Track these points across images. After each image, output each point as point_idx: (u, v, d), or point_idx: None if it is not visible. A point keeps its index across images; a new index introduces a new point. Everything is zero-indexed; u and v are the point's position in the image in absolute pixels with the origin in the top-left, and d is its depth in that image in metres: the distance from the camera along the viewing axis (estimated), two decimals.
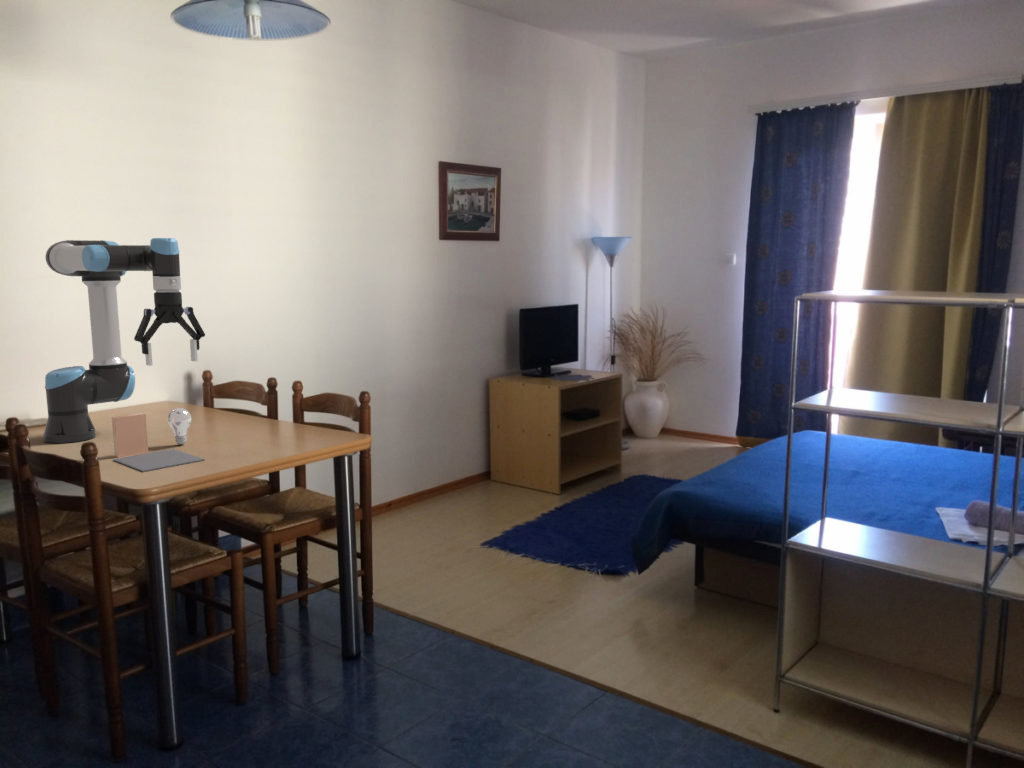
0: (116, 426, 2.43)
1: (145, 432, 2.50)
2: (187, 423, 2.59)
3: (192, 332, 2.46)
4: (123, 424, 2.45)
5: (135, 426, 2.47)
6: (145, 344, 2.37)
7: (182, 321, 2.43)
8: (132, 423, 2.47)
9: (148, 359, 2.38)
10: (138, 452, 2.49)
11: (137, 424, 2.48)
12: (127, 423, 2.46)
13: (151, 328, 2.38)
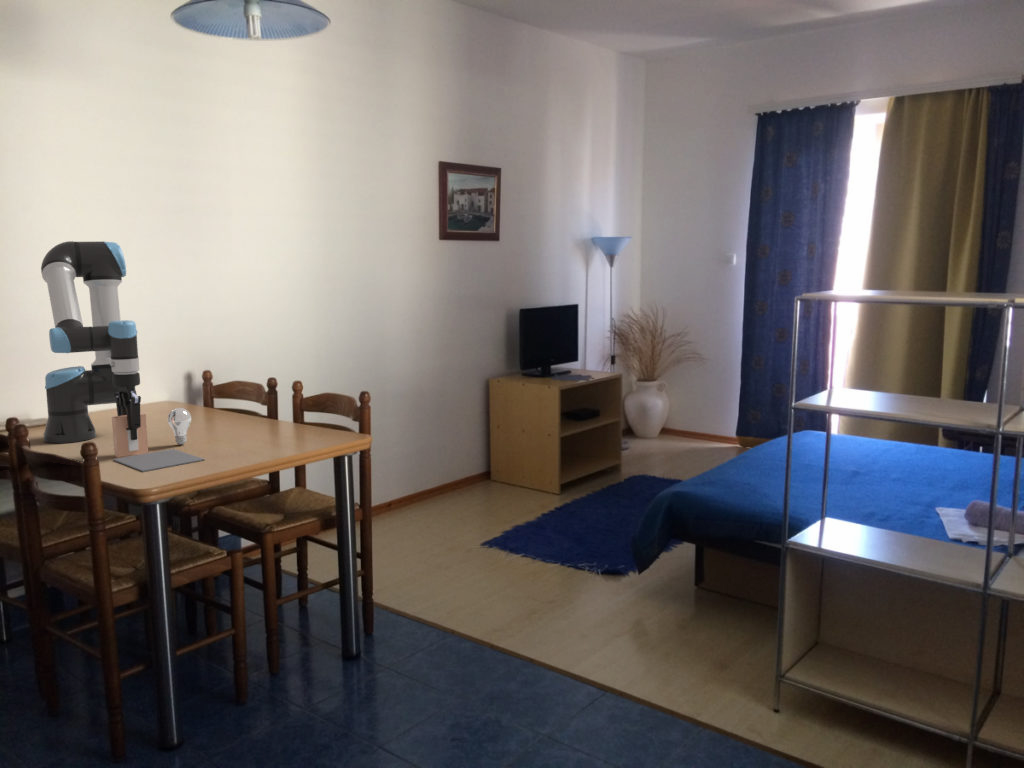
0: (116, 426, 2.43)
1: (145, 432, 2.50)
2: (187, 423, 2.59)
3: (128, 420, 2.45)
4: (123, 424, 2.45)
5: None
6: None
7: (124, 405, 2.44)
8: None
9: None
10: (138, 452, 2.49)
11: None
12: (127, 423, 2.46)
13: None
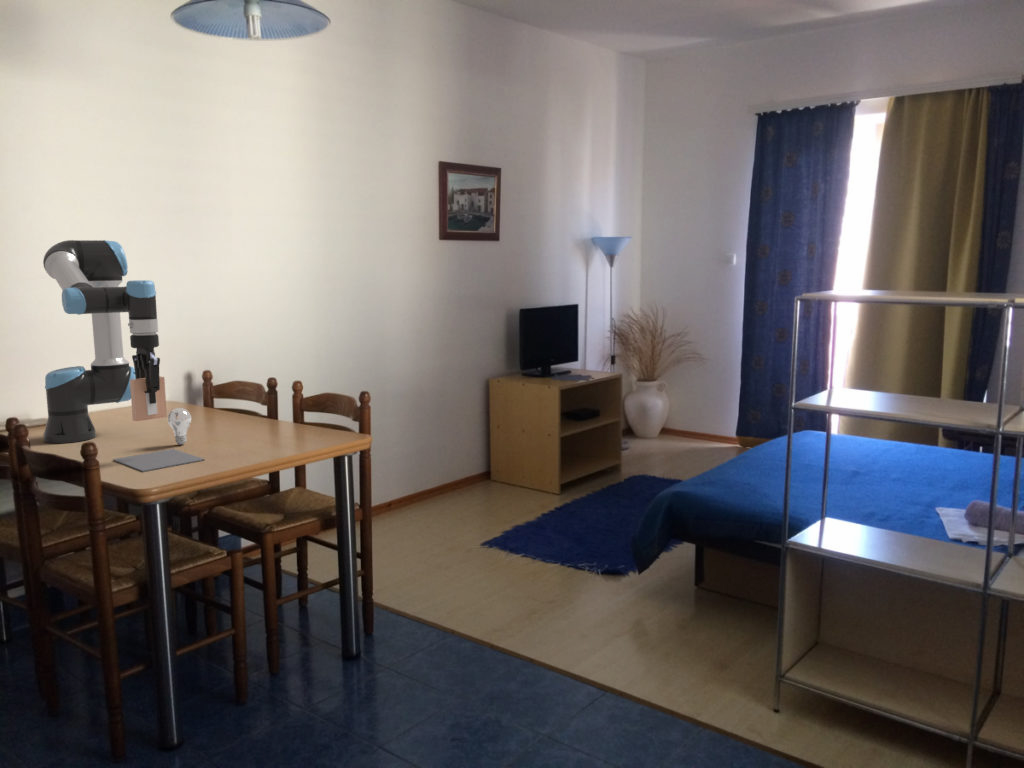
0: (134, 388, 2.36)
1: (164, 396, 2.43)
2: (187, 423, 2.59)
3: (146, 383, 2.38)
4: (141, 387, 2.38)
5: None
6: None
7: (142, 367, 2.37)
8: None
9: None
10: (157, 416, 2.42)
11: None
12: (145, 386, 2.39)
13: None
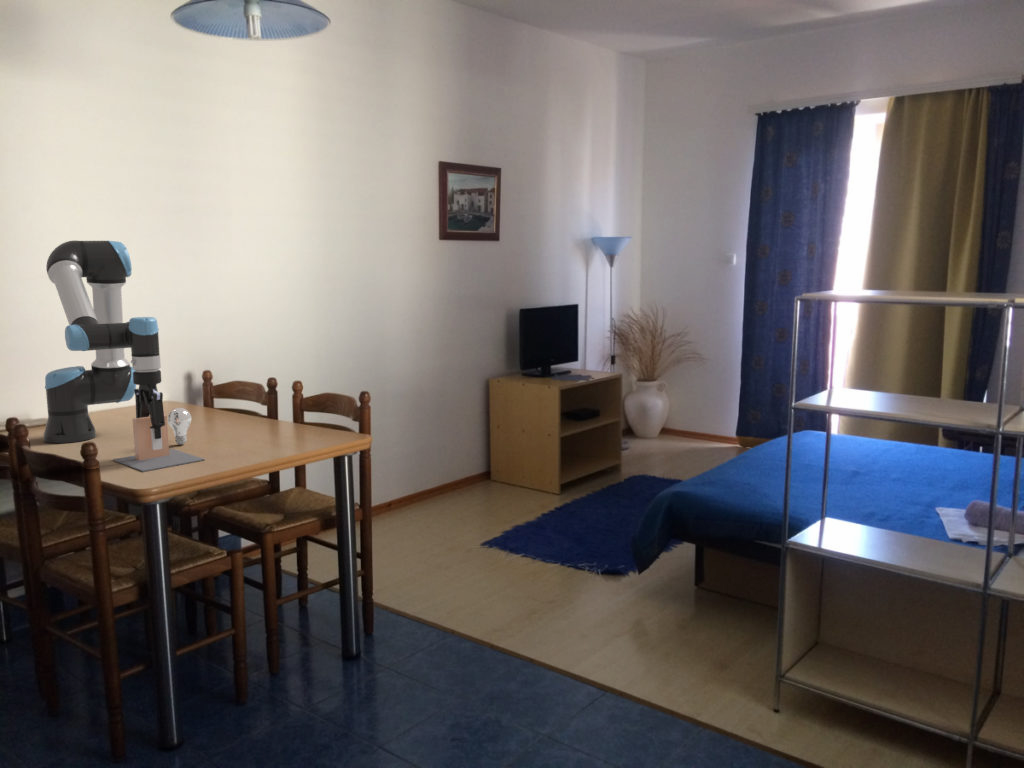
0: (137, 428, 2.38)
1: (166, 434, 2.45)
2: (187, 423, 2.59)
3: (151, 418, 2.38)
4: (144, 426, 2.40)
5: None
6: None
7: (146, 403, 2.38)
8: None
9: None
10: (159, 454, 2.44)
11: None
12: (148, 425, 2.40)
13: None
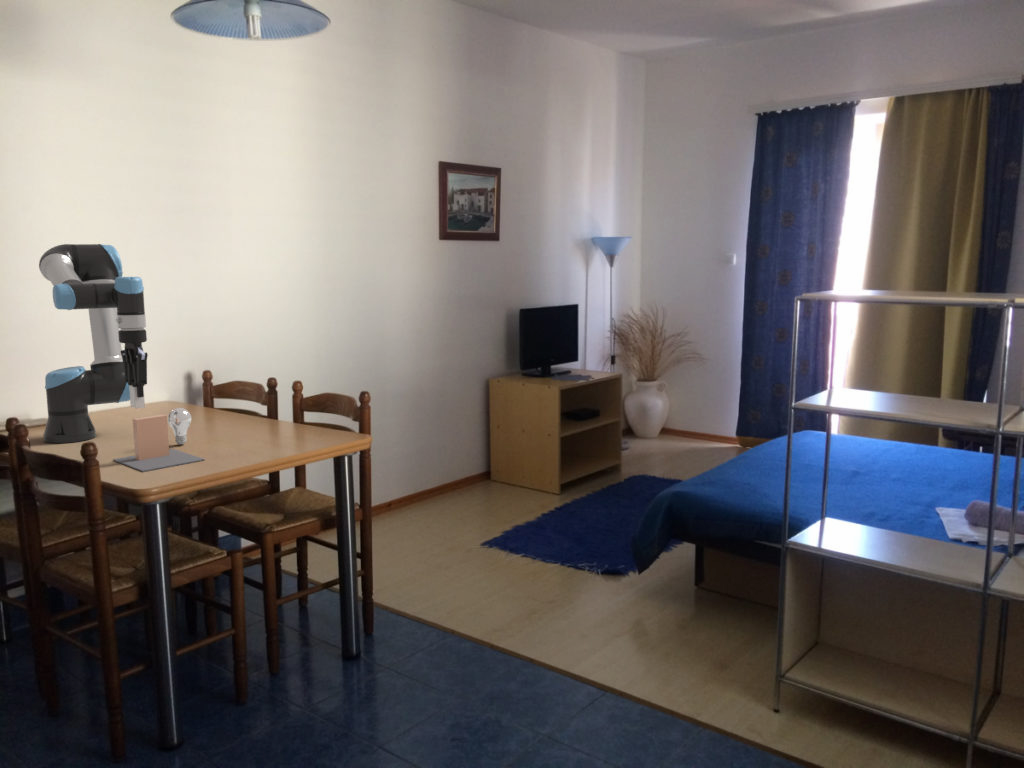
0: (137, 428, 2.38)
1: (166, 434, 2.45)
2: (187, 423, 2.59)
3: (134, 377, 2.43)
4: (144, 426, 2.40)
5: (156, 428, 2.42)
6: (131, 386, 2.46)
7: (130, 362, 2.42)
8: (153, 425, 2.41)
9: None
10: (159, 454, 2.44)
11: (158, 426, 2.43)
12: (148, 425, 2.40)
13: None
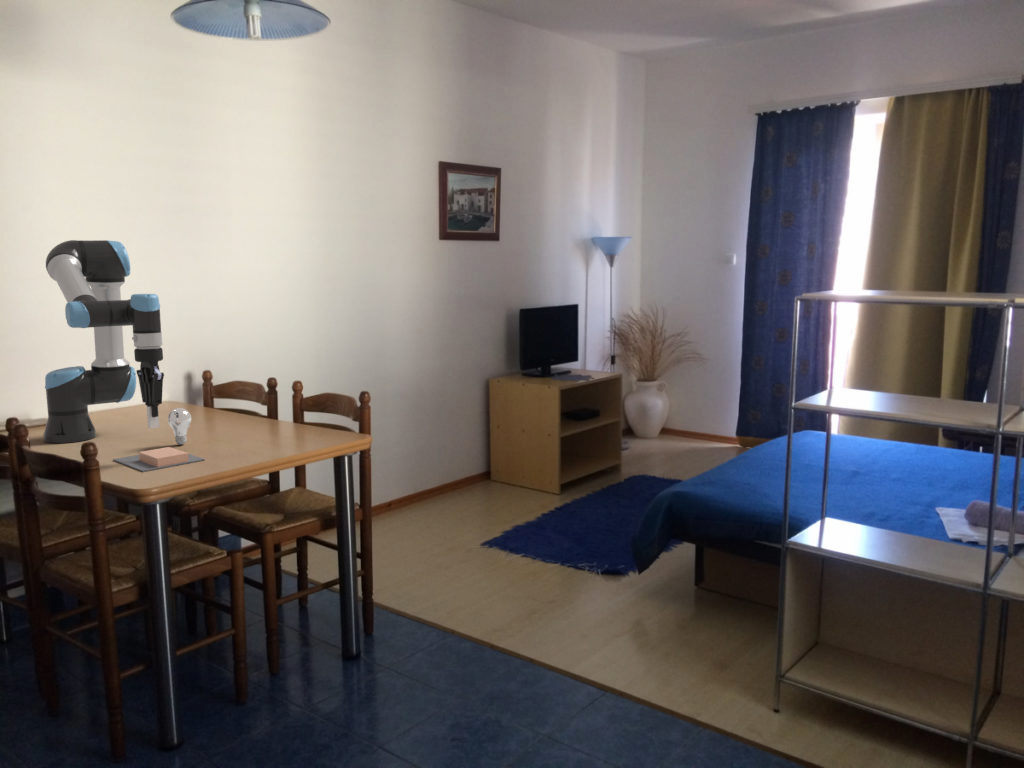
0: (154, 465, 2.33)
1: None
2: (187, 423, 2.59)
3: (149, 396, 2.37)
4: None
5: None
6: None
7: (146, 381, 2.37)
8: None
9: None
10: None
11: None
12: None
13: None
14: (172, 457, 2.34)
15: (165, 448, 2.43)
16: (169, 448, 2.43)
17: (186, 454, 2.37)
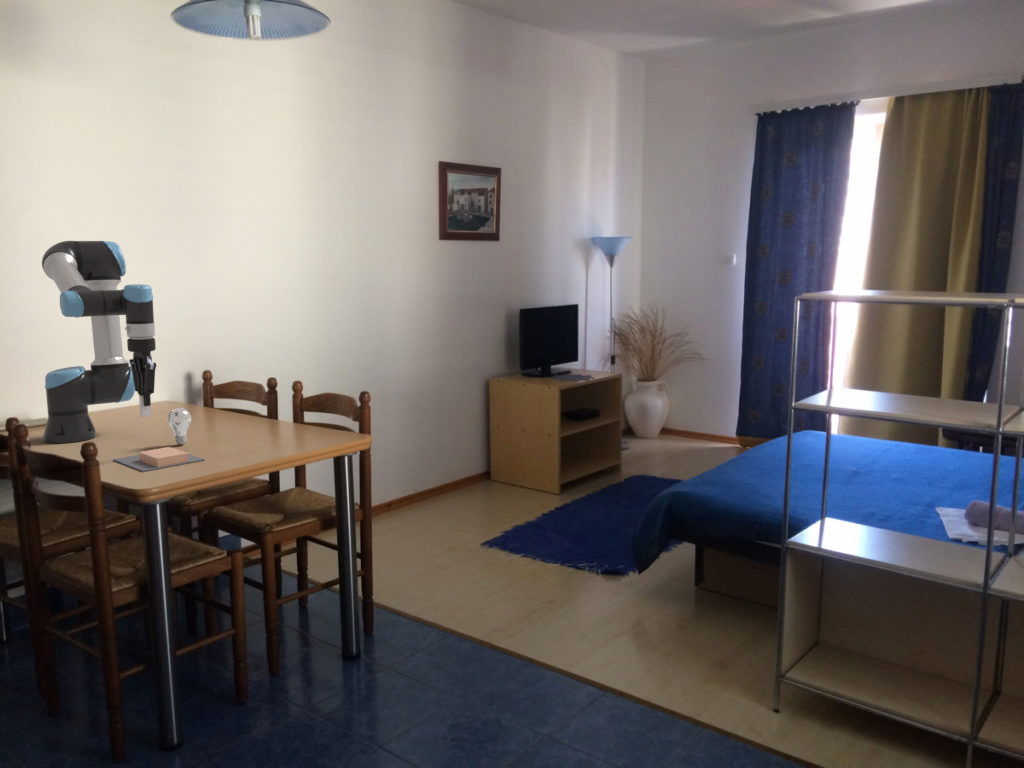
0: (154, 465, 2.33)
1: None
2: (187, 423, 2.59)
3: (141, 386, 2.41)
4: None
5: None
6: None
7: (139, 370, 2.40)
8: None
9: None
10: None
11: None
12: None
13: None
14: (172, 457, 2.34)
15: (165, 448, 2.43)
16: (169, 448, 2.43)
17: (186, 454, 2.37)
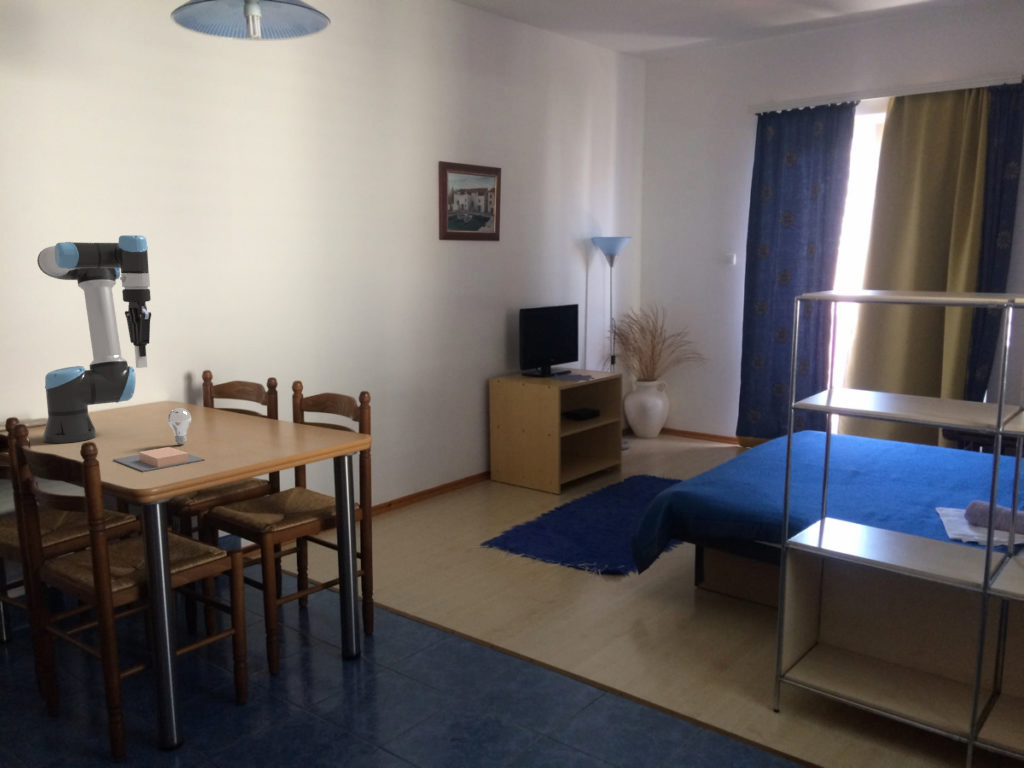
0: (154, 465, 2.33)
1: None
2: (187, 423, 2.59)
3: (137, 336, 2.43)
4: None
5: None
6: None
7: (134, 321, 2.42)
8: None
9: None
10: None
11: None
12: None
13: None
14: (172, 457, 2.34)
15: (165, 448, 2.43)
16: (169, 448, 2.43)
17: (186, 454, 2.37)
